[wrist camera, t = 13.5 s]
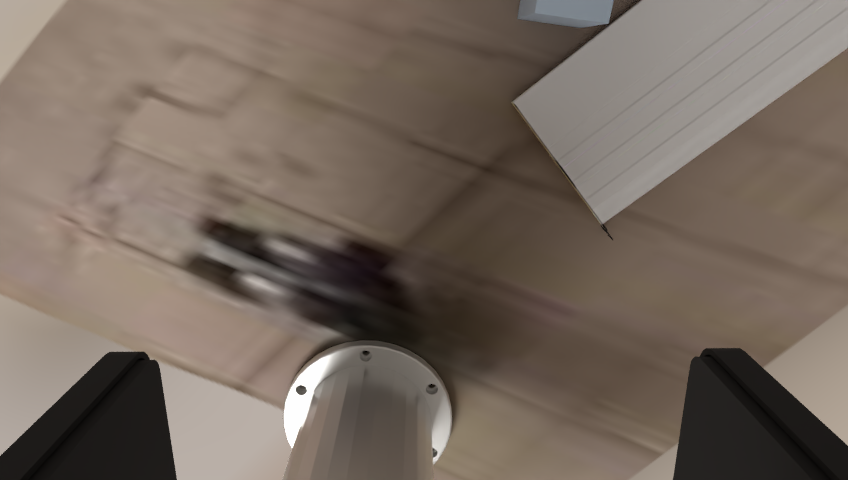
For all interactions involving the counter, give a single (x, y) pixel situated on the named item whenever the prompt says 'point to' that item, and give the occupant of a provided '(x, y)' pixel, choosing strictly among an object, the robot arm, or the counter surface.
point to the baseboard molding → (672, 87)
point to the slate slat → (566, 12)
